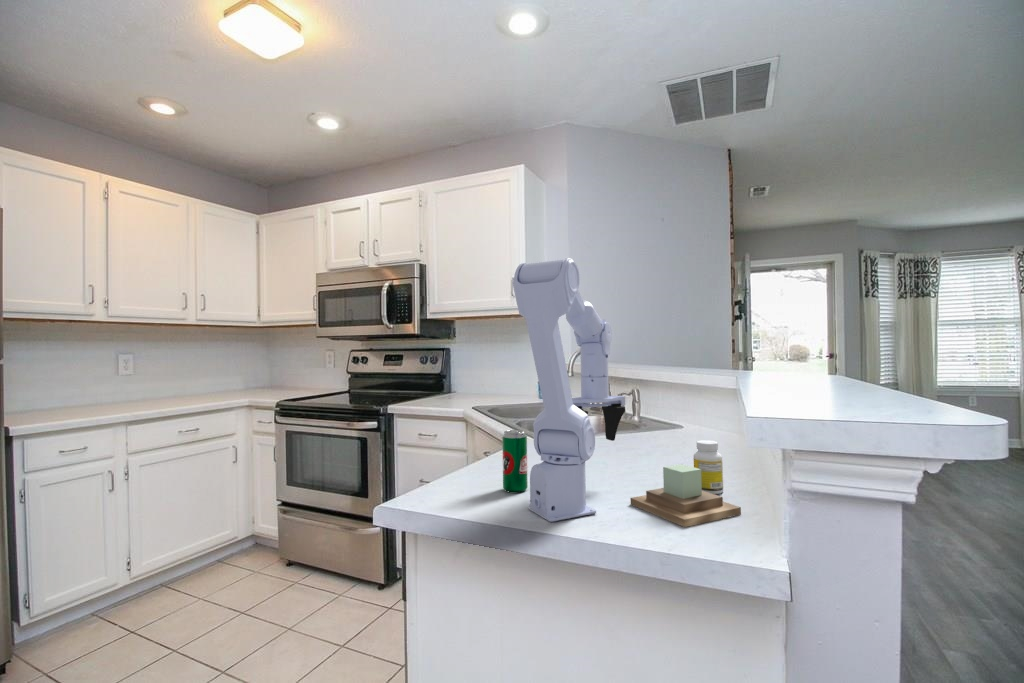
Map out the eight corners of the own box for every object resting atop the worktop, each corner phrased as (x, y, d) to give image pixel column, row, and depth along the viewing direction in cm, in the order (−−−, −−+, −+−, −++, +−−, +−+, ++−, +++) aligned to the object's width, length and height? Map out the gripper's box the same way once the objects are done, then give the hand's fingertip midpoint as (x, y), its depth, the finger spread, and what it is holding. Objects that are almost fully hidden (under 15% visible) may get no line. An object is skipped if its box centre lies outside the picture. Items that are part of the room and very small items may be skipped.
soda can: (525, 494, 94) (524, 433, 94) (500, 492, 95) (499, 433, 95) (529, 487, 99) (528, 429, 99) (505, 486, 100) (505, 429, 100)
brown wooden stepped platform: (684, 527, 75) (684, 510, 75) (630, 504, 86) (630, 489, 86) (740, 514, 80) (740, 498, 80) (682, 494, 92) (682, 480, 92)
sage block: (682, 498, 81) (682, 472, 81) (663, 492, 85) (663, 466, 85) (701, 495, 83) (701, 469, 83) (682, 488, 87) (681, 464, 87)
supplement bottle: (698, 485, 98) (696, 438, 98) (726, 489, 95) (724, 441, 95) (691, 492, 94) (690, 442, 94) (720, 496, 91) (719, 445, 91)
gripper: (610, 375, 106) (611, 435, 105) (555, 377, 99) (556, 441, 99) (631, 376, 99) (632, 440, 99) (573, 378, 93) (574, 447, 93)
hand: (595, 441), depth 99 cm, fingers open, 7 cm apart
